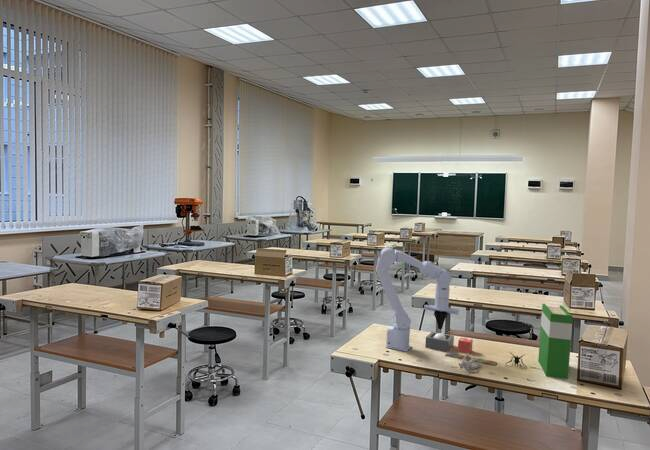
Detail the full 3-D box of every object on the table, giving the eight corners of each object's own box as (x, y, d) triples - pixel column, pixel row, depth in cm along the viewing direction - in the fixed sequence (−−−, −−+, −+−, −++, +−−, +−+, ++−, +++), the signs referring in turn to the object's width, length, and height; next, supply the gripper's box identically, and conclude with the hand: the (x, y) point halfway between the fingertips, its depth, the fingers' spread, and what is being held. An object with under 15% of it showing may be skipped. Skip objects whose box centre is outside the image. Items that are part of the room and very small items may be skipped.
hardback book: (538, 360, 190) (542, 303, 188) (557, 363, 188) (562, 305, 186) (546, 376, 173) (550, 313, 171) (567, 379, 171) (572, 316, 169)
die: (457, 351, 197) (458, 339, 196) (460, 348, 201) (460, 337, 201) (469, 354, 194) (470, 342, 194) (471, 350, 199) (472, 339, 198)
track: (445, 355, 191) (445, 354, 191) (447, 353, 194) (447, 352, 194) (495, 365, 182) (495, 364, 182) (496, 362, 185) (496, 361, 185)
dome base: (425, 347, 201) (425, 337, 201) (431, 341, 210) (431, 331, 209) (448, 351, 196) (448, 341, 196) (453, 345, 205) (454, 335, 205)
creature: (526, 374, 177) (527, 363, 184) (527, 362, 176) (528, 351, 182) (505, 370, 180) (506, 360, 187) (505, 358, 179) (507, 348, 186)
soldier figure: (486, 372, 177) (474, 369, 169) (476, 378, 179) (464, 376, 171) (476, 353, 182) (464, 350, 173) (466, 360, 184) (453, 357, 175)
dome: (430, 346, 202) (430, 333, 201) (434, 342, 207) (434, 330, 207) (445, 349, 198) (446, 336, 198) (448, 345, 204) (449, 332, 204)
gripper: (461, 298, 197) (459, 329, 198) (427, 293, 204) (426, 323, 204) (457, 301, 191) (455, 333, 191) (423, 296, 197) (421, 327, 198)
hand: (440, 328), depth 197 cm, fingers closed
